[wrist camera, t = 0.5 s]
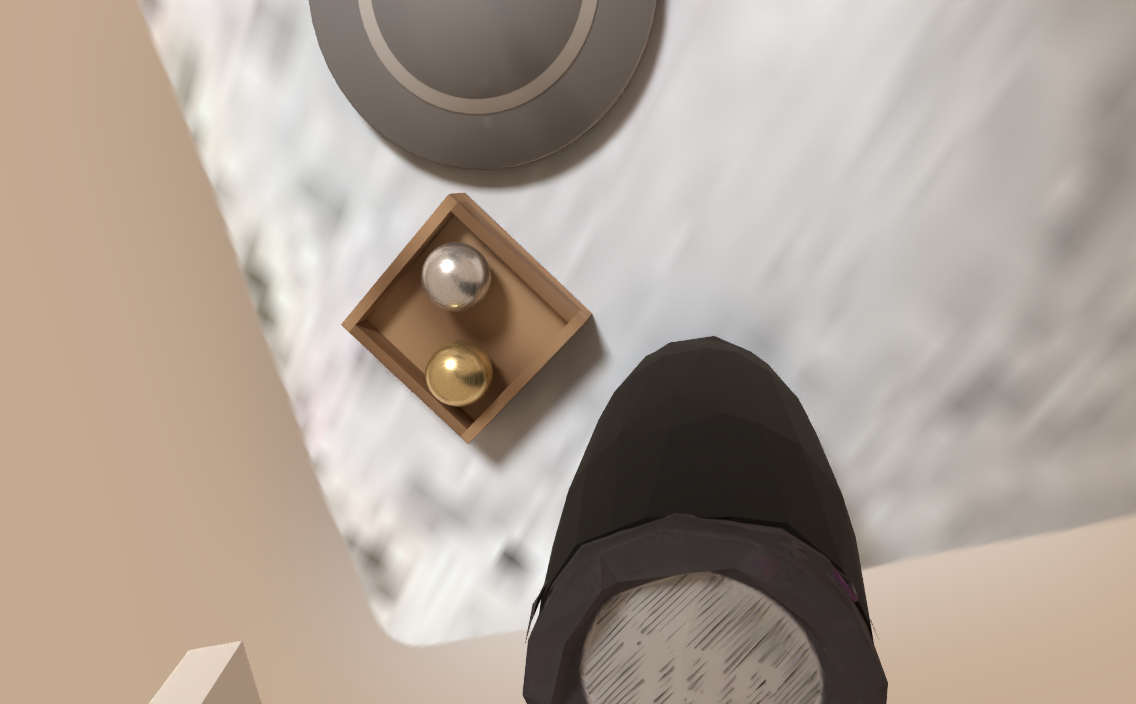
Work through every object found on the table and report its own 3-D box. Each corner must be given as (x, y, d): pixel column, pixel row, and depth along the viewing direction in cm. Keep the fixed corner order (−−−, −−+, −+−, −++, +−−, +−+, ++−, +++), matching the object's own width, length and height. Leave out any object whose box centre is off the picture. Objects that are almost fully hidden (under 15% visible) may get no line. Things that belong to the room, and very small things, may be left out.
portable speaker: (789, 309, 33) (907, 491, 14) (802, 507, 35) (922, 899, 16) (597, 327, 34) (472, 512, 16) (620, 515, 36) (534, 879, 18)
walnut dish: (464, 192, 34) (449, 193, 32) (592, 313, 34) (584, 322, 32) (362, 316, 36) (341, 324, 34) (481, 428, 37) (468, 443, 34)
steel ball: (463, 225, 33) (440, 230, 30) (512, 271, 33) (494, 281, 31) (422, 273, 34) (396, 282, 31) (470, 318, 34) (448, 332, 31)
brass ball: (466, 320, 34) (444, 333, 31) (513, 364, 34) (496, 382, 32) (426, 364, 35) (401, 381, 32) (472, 408, 35) (451, 428, 32)
